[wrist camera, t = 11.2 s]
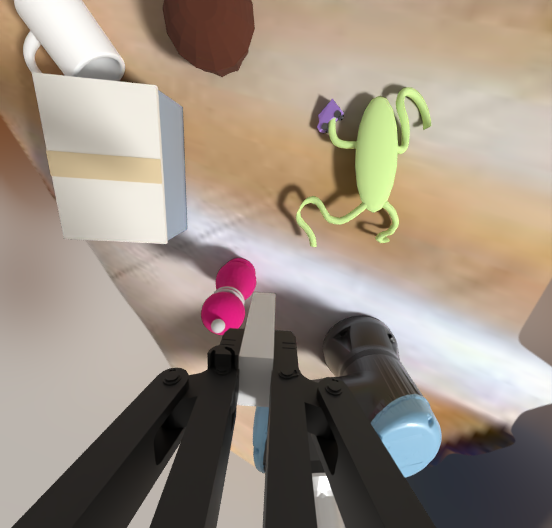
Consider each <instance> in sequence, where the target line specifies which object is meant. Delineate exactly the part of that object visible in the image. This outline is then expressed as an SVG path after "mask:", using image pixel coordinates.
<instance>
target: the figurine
mask: <svg viewBox="0 0 552 528" xmlns="http://www.w3.org/2000/svg"><path fill="white" fill-rule="evenodd" d="M405 96H408V97H410V98H411V99H412V100H413V101H414V102H415V103H416V105H417V107H418V108H419V111H420V114H421V117H422V121H423V130H424V129H427V128H429V127H430V126H431V118H430V114H429V110H428V107H427V105H426V103H425V101H424V99H423V97H422V96H421V95H420V93H419V92H418V91H416V90H415V89H413V88H403V89H402V90H401V91H400V92H399V93H398V96H397V100H396V109H397V113H398V116H399V119H400V123H401V130H402V137H401V146H398V139H397V126H396V121H395V117H394V113H393V109H392V107H391V106H390V104H389V102H388V100H387V99H386V98H383V97H381V96H378V97H376V98H374V99H372V100H371V102H370V103H369V105H368V106H367V108H366V109H365V111H364V114H363V117H362V120H361V123H360V126H359V131H358V137H357V141H343V140H340V139H339V138H338V137H337V134H336V130H335V122H336V121H337V120H339V121H341V120H342V119H343V118H344V113H345V112H342V110H341V109H340V107H338V105H337V104H336V102H335V101H334V100H333V99H332V100H331V101H330V102H329V103H328V104H327V106H326V107H325V108H324V109H323V110H322V112H321V113H320V114H319V115H318V117H319V124H318V126H317V128H318V130H319V131H320V132H321V133H325V132H326V133H329V137H330V140H331V142H332V143H333V145H334V146H337V147H339V148H345V149H356V157H355V170H356V181H357V187H358V191H359V195H360V198H361V201H362V203H361V204H360V205H359V206H358V207H356V208H355V209H354V210H353V211H351V212H350V213H348V214H347V215H345V216H343V217H340V218H338V217H333V216H330V214H329V213H328V212H327V210H326V208H325V206H324V205H323V203H322V201H321V200H320V199H319V198H318V197H315V196H311V197H308V198H306V199H305V200H304V201H303V202H302V204H301V206H300V208H299V210H298V212H297V215H296V221H297V223H298V225H299V226H300V227H301V228H302V229H303V230H304V231H305V232H306V234H307V235H308V237H309V241H310V246H312V247H317V246H316V238H315V235H314V233H313V231H312V230H311V228H310V227H309V226H308V225H307V224H306V223H305V222H304V220H303V219H302V218H301V214H300V211H301V209H302V208H303V207H304V205H305V204H308V203H313V204H316V205H317V207H318V208H319V209H320V211H321V213H322V215H323V217H324V218H325V219H326V220H327V221H328V222H329V223H333V224H340V225H341V224H344V223H346V222H348V221H350V220H352V219H353V218H355V217H356V216H357V215H359V214H360V213H361V212H363V211H364V210H365V209H367V210H369V211H371V212H373V213H374V212H376V211H378V210H380V209H381V208H382V207H383V208H384V209H385V210H387V212H388V213H389V215H390V217H391V219H392V224H391V226H390V227H389V229H388V230H387V231H383V232H381V233H379V234H378V235H377V236H376V237H375V239H376V240H377V241H378V242H380V243H385V242H389V241H390V240H389V239H388V238H387V237H385V236H388V235H392V234H393V233H394V232H395V230H396V229H397V227H398V224H399V219H398V216H397V213H396V210H395V209H394V207H393V206H392V205H391V204H389V202H388V201H387V200H388V197H389V195H390V192H391V189H392V187H393V183H394V178H395V173H396V168H397V154H402V153H404V152H405V151H406V150H407V148H408V145H409V133H410V131H409V120H408V116H407V113H406V110H405V106H404V99H405Z"/></svg>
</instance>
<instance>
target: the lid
mask: <svg viewBox="0 0 552 528" xmlns="http://www.w3.org/2000/svg"><path fill="white" fill-rule="evenodd" d="M32 77H33V82H34V87H35V92H36V97H37V103H38V108H39V113H40V118H41V123H42V129H43V134H44V139H45V144H46V149H47V150H46V154H47V159H48V164H49V169H50V175H51V176H52V180H53V186H54V191H55V196H56V201H57V206H58V211H59V217H60V222H61V227H62V232H63V237H64V239H76V240H96V241H117V242H137V243H158V244H167V243H168V240H167V223H166V207H165V191H164V175H163V159H162V143H161V127H160V111H159V95H158V87H157V86H156V85H148V84H139V83H129V82H120V81H110V80H101V79H91V78H82V77H72V76H63V75H53V74H44V73H34V72H32Z"/></svg>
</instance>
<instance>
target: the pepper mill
mask: <svg viewBox="0 0 552 528" xmlns="http://www.w3.org/2000/svg"><path fill="white" fill-rule="evenodd" d="M255 286H256V276H255V269H254V266H253V265H252V264H251V263H250V262H249V261H247V260H245V259H242V258H235V259H232V260H230V261H229V262H228V263H227V264H226V265H224V266H223V267H222V268H221V269H220V270H219V272H218V274H217V277H216V289H217V290H216V291H215V292H214V293H213V294H212V295H211V296H210V297H209V298H207V299H206V301H205V302H204V304H203V307H202V310H201V318H202V322H203V324H204V326H205V327H206V328H207V329H208V330H209V331H211V332H212V333H215V334H218V335H223V334H224V332H226V331H227V330H228V329H229V328H237V329H238V328H239V327H240V326H241V324H242V323H243V320H244V317H245V308H244V300H246V299H247V298H248V297H250V295H251V294H252V293H253V291H254V289H255Z"/></svg>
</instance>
